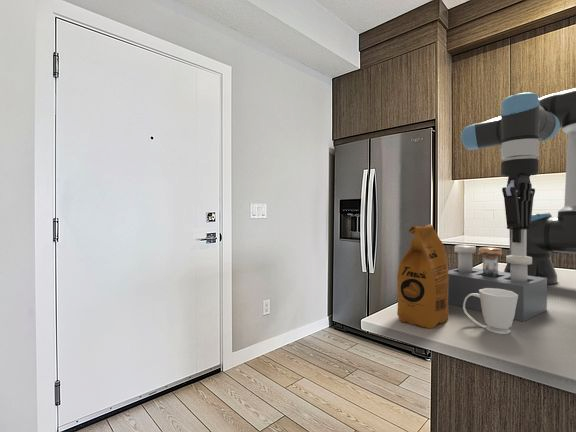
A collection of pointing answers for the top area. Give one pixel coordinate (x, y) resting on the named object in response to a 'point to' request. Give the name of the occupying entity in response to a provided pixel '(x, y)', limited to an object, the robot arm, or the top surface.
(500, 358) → the top surface
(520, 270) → the knob
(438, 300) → the coffee package
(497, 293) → the cup
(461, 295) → the grey pod holder
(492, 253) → the brown lidded jar
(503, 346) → the top surface
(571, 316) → the top surface
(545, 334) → the top surface
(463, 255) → the knob
